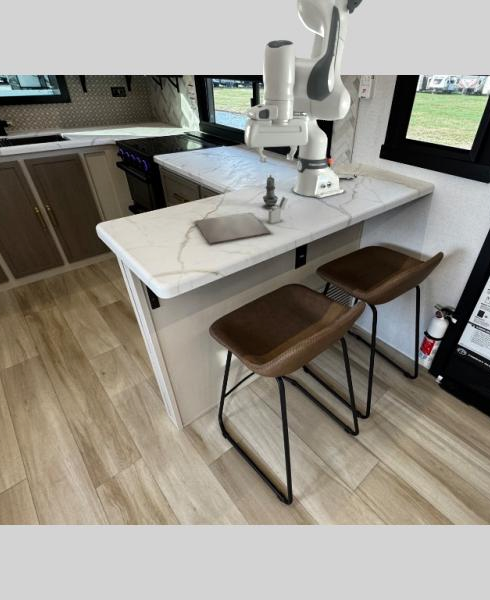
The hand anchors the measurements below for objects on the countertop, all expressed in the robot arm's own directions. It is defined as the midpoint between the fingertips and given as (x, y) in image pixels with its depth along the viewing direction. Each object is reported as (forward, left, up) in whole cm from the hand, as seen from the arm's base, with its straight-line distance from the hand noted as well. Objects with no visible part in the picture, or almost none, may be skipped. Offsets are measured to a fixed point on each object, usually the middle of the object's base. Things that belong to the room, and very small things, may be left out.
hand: (276, 161), depth 101 cm
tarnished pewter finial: (-3, -12, -20) cm, 23 cm away
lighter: (0, +1, -20) cm, 20 cm away
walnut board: (+17, +1, -20) cm, 26 cm away
